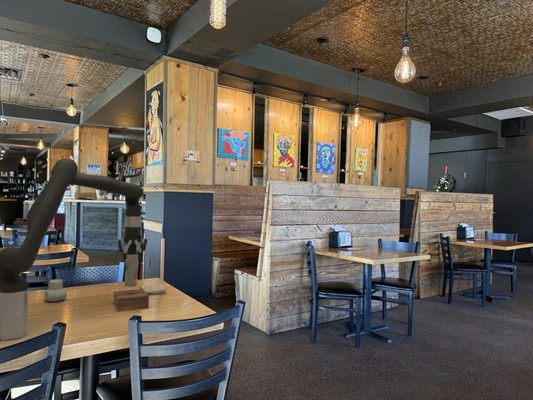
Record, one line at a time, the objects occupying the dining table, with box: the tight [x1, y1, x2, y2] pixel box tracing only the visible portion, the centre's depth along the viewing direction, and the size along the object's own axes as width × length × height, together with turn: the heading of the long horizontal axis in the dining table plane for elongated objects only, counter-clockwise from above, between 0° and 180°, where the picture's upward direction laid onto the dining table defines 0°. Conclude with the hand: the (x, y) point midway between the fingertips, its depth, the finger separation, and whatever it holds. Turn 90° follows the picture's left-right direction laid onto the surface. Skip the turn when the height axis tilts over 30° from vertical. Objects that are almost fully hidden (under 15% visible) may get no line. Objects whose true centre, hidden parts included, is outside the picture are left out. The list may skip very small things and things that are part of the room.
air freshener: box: [43, 278, 68, 303], centre depth 185 cm, size 11×8×10 cm
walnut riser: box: [113, 288, 150, 313], centre depth 180 cm, size 14×14×6 cm
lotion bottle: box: [124, 246, 139, 288], centre depth 180 cm, size 6×6×20 cm
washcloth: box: [139, 283, 167, 297], centre depth 209 cm, size 12×18×3 cm, turn 30°
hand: (131, 260), depth 180 cm, fingers closed on lotion bottle, 5 cm apart
